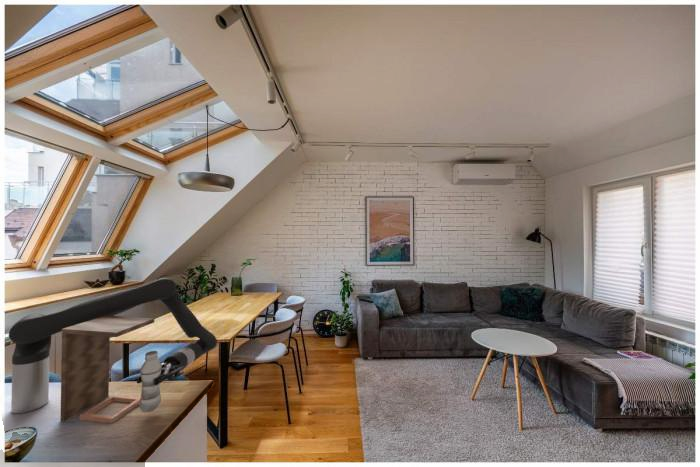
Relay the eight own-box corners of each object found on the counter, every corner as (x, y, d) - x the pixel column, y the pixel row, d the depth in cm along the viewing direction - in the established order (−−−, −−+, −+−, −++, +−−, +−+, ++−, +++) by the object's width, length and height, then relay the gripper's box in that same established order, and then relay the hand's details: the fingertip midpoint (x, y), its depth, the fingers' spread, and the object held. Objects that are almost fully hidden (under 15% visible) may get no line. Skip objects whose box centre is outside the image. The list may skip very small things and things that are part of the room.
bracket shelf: (105, 395, 115) (106, 315, 115) (152, 399, 112) (154, 318, 112) (60, 421, 99) (62, 328, 99) (114, 427, 97) (116, 332, 96)
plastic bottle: (136, 416, 99) (137, 358, 99) (142, 405, 105) (143, 350, 105) (158, 413, 101) (159, 355, 101) (163, 402, 108) (164, 348, 107)
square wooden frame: (113, 398, 112) (113, 395, 112) (142, 401, 111) (142, 397, 111) (79, 419, 100) (79, 415, 100) (112, 423, 99) (112, 418, 99)
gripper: (163, 349, 119) (127, 369, 102) (196, 352, 117) (165, 372, 100) (163, 368, 119) (127, 390, 102) (196, 371, 117) (164, 394, 100)
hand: (146, 381), depth 101 cm, fingers closed on plastic bottle, 6 cm apart
